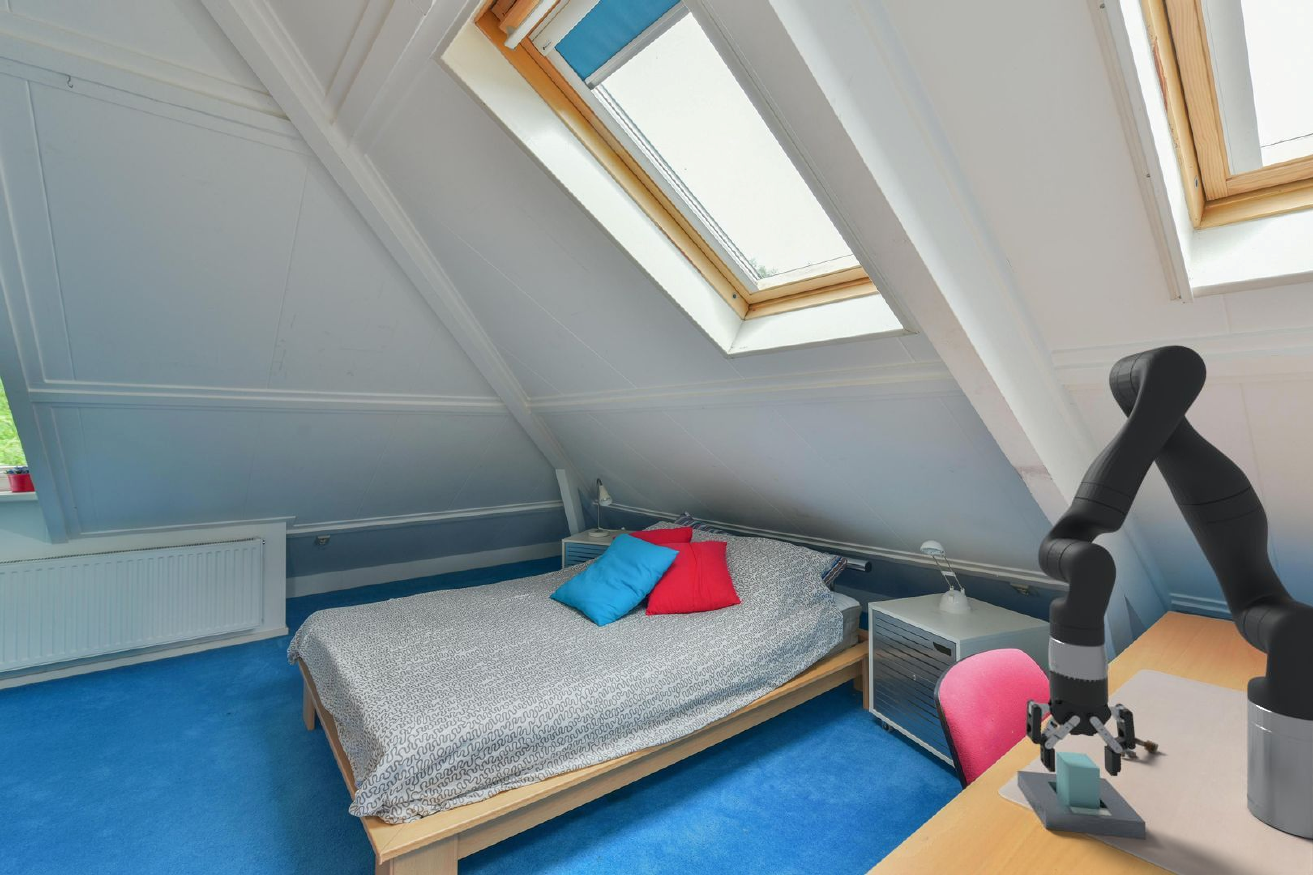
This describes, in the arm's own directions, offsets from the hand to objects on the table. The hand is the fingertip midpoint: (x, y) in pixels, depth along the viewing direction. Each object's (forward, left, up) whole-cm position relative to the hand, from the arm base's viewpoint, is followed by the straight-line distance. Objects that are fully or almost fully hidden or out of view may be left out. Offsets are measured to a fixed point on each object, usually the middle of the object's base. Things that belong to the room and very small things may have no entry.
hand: (1080, 771), depth 94 cm
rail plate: (0, 0, -6) cm, 6 cm away
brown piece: (-18, -20, -7) cm, 27 cm away
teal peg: (0, 0, -6) cm, 6 cm away
